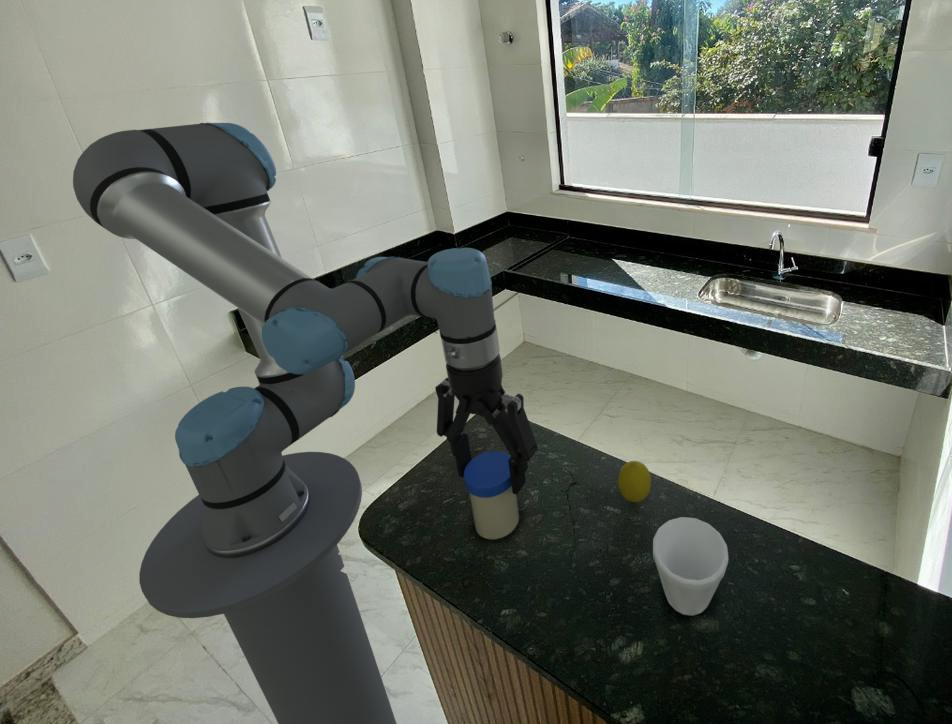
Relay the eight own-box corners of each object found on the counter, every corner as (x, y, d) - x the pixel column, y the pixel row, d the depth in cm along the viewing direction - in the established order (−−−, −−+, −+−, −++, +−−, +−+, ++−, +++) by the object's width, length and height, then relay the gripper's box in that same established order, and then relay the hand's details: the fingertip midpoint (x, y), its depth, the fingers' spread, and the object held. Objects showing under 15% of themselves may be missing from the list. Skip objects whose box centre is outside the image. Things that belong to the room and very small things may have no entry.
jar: (465, 531, 78) (456, 481, 74) (491, 497, 84) (483, 450, 80) (504, 545, 76) (496, 494, 72) (527, 509, 82) (521, 461, 78)
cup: (637, 598, 68) (637, 552, 64) (676, 548, 74) (678, 504, 71) (700, 649, 61) (704, 601, 58) (736, 589, 68) (742, 543, 65)
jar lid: (454, 489, 75) (453, 480, 74) (484, 454, 81) (482, 445, 81) (498, 504, 72) (496, 494, 71) (525, 467, 79) (524, 457, 78)
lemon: (612, 501, 83) (611, 465, 80) (631, 481, 87) (631, 446, 84) (638, 518, 80) (638, 481, 77) (657, 497, 84) (658, 461, 80)
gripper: (392, 357, 69) (420, 478, 77) (527, 387, 61) (542, 518, 69) (428, 332, 75) (450, 446, 84) (554, 357, 67) (564, 480, 76)
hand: (492, 479), depth 77 cm, fingers open, 9 cm apart
